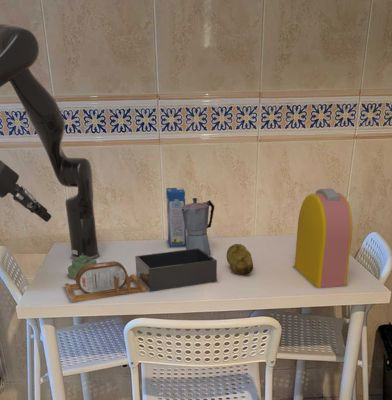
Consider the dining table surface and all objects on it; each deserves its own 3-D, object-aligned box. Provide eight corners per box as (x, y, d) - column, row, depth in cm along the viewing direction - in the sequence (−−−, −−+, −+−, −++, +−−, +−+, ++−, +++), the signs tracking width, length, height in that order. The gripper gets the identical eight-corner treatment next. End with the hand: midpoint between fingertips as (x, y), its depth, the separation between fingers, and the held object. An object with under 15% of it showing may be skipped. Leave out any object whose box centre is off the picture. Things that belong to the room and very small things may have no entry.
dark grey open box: (136, 276, 158) (135, 255, 155) (199, 268, 165) (198, 248, 162) (150, 291, 146) (148, 269, 143) (216, 281, 153) (216, 260, 150)
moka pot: (173, 256, 177) (171, 199, 168) (203, 247, 187) (202, 192, 178) (193, 261, 172) (192, 202, 162) (222, 252, 182) (223, 195, 172)
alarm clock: (346, 285, 149) (358, 194, 137) (317, 287, 148) (327, 196, 135) (319, 264, 167) (328, 182, 155) (293, 266, 166) (300, 183, 154)
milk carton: (168, 240, 197) (166, 188, 188) (183, 239, 198) (182, 187, 188) (169, 247, 188) (167, 192, 179) (186, 246, 189) (184, 192, 180)
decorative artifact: (101, 278, 157) (99, 268, 166) (98, 256, 154) (97, 248, 163) (68, 281, 156) (69, 271, 164) (65, 259, 152) (66, 250, 161)
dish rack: (64, 287, 150) (62, 271, 148) (134, 277, 158) (133, 262, 155) (72, 302, 140) (69, 285, 137) (146, 291, 147) (145, 275, 144)
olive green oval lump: (226, 277, 157) (227, 252, 153) (226, 265, 168) (226, 241, 164) (253, 277, 156) (254, 252, 153) (250, 265, 168) (251, 241, 164)
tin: (126, 285, 151) (124, 258, 147) (129, 288, 149) (127, 261, 145) (76, 293, 146) (73, 265, 142) (79, 297, 143) (76, 268, 139)
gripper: (5, 166, 121) (59, 210, 130) (2, 160, 133) (52, 201, 142) (-14, 190, 122) (42, 232, 131) (-15, 182, 134) (36, 221, 143)
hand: (47, 216), depth 136 cm, fingers open, 8 cm apart
